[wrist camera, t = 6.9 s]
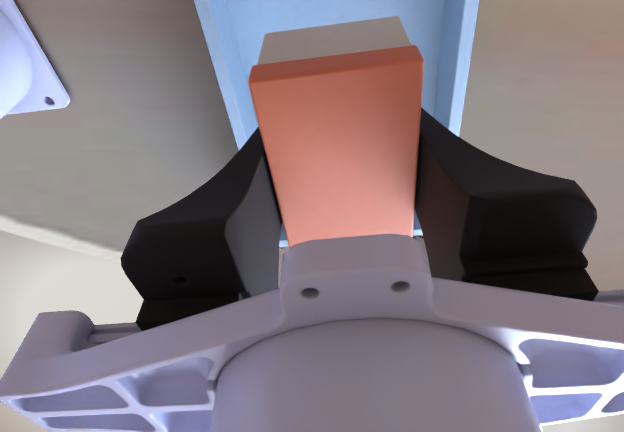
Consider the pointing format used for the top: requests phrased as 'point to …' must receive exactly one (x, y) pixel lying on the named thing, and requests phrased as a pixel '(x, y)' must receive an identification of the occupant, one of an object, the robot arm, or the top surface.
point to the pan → (333, 10)
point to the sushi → (341, 127)
